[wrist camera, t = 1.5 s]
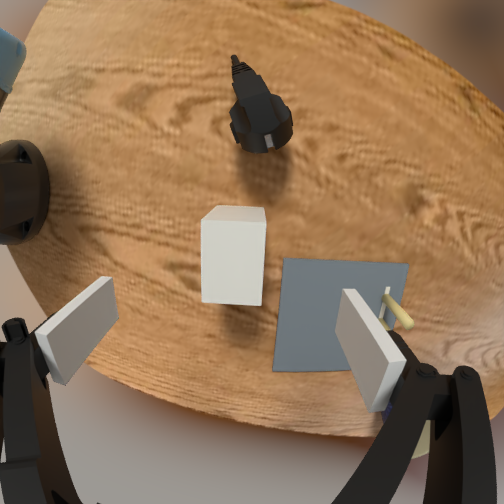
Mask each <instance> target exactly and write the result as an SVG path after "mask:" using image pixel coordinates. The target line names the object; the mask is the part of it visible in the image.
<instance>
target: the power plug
mask: <svg viewBox="0 0 504 504" xmlns="http://www.w3.org/2000/svg"><path fill="white" fill-rule="evenodd" d="M231 59H232V61H233V64H234V65H232V66H231V68H232V79H233V81H234V82H233V83H232V86H233V88H234V91H235V93H236V96H237V98H238V100H237V102H236V103H235V104H234V106H233V107H232V108H231V110H230V112H229V113H230V116H231V119H232V122H231V123H230V127H231V131H232V133H233V135H234V138H235V140H236V143H240V144H241V146H242V149H244V150H246V151H248V152H252V153H254V154H258V153H267V152H268V148H269V147H273V146H274V147H275V149H276V150H277V149H279V148H281V147H282V146H284V145H285V144H286V143H287V142H288V141H289V140H290V139H291V137H292V135H293V130H292V126H293V121H292V115H291V111H290V109H289V108H288V106H286V105H285V104H284V102H283V101H282V99H281V97H280V96H277V95H274V94H271V93H270V91H269V89H268V88H267V86H266V84H265V82H264V81H263V79H262V77H261V76H260V75H256V73H255V71H254V70H253V69H252V68H250V67H249V66H248V65H247V64H246V63H245V62H241V63H240V62H239V60H238V58H237V56H236V55H232V56H231Z"/></svg>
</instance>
